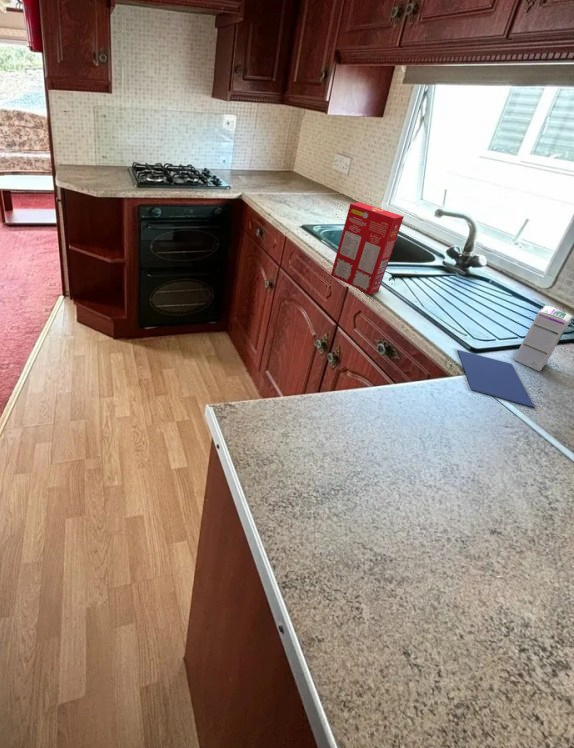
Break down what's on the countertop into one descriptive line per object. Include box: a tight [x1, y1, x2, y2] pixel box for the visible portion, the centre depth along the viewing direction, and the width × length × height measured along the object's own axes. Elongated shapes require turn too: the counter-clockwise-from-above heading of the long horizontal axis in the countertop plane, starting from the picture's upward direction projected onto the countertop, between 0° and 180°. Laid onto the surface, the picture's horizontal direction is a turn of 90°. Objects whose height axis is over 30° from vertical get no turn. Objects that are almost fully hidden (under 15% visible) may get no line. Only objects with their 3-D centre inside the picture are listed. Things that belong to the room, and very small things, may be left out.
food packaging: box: [330, 201, 404, 295], centre depth 127 cm, size 15×5×25 cm, turn 37°
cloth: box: [457, 349, 535, 409], centre depth 94 cm, size 12×16×1 cm
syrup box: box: [513, 304, 574, 372], centre depth 98 cm, size 6×6×14 cm
